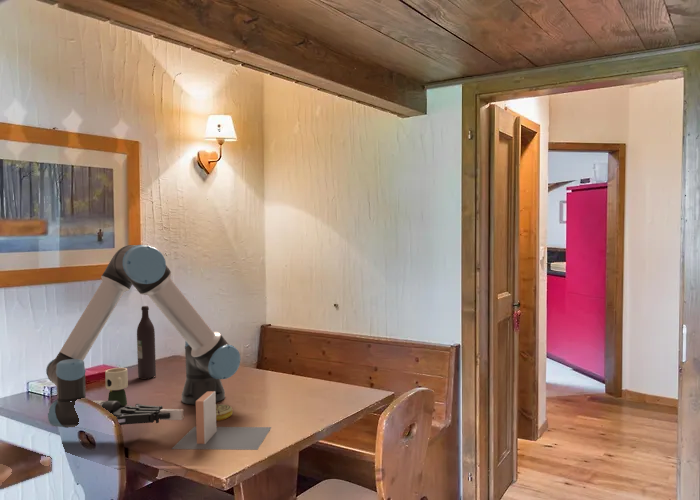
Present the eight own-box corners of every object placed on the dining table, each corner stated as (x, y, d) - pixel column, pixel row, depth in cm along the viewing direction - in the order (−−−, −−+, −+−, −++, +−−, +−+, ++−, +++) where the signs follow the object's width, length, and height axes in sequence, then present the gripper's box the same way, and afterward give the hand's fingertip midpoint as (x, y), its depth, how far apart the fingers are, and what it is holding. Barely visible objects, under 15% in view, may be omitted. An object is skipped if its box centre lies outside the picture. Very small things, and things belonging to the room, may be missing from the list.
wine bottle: (143, 375, 245) (141, 305, 244) (159, 375, 244) (156, 305, 243) (134, 379, 238) (132, 307, 237) (151, 379, 237) (148, 307, 236)
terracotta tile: (208, 431, 171) (207, 391, 171) (216, 431, 171) (215, 391, 171) (196, 443, 161) (195, 401, 161) (205, 443, 161) (204, 401, 161)
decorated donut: (210, 412, 192) (209, 401, 192) (238, 415, 189) (238, 403, 188) (191, 422, 182) (191, 410, 182) (221, 425, 179) (221, 413, 179)
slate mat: (194, 428, 176) (194, 426, 176) (271, 429, 174) (271, 427, 174) (171, 450, 158) (171, 448, 158) (257, 451, 156) (257, 449, 156)
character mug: (103, 405, 202) (102, 368, 202) (124, 401, 206) (123, 365, 206) (110, 412, 193) (108, 374, 193) (132, 408, 197) (130, 371, 197)
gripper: (115, 419, 174) (190, 420, 172) (92, 434, 161) (174, 435, 159) (114, 395, 174) (190, 395, 172) (91, 408, 161) (173, 408, 159)
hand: (182, 414), depth 166 cm, fingers closed
